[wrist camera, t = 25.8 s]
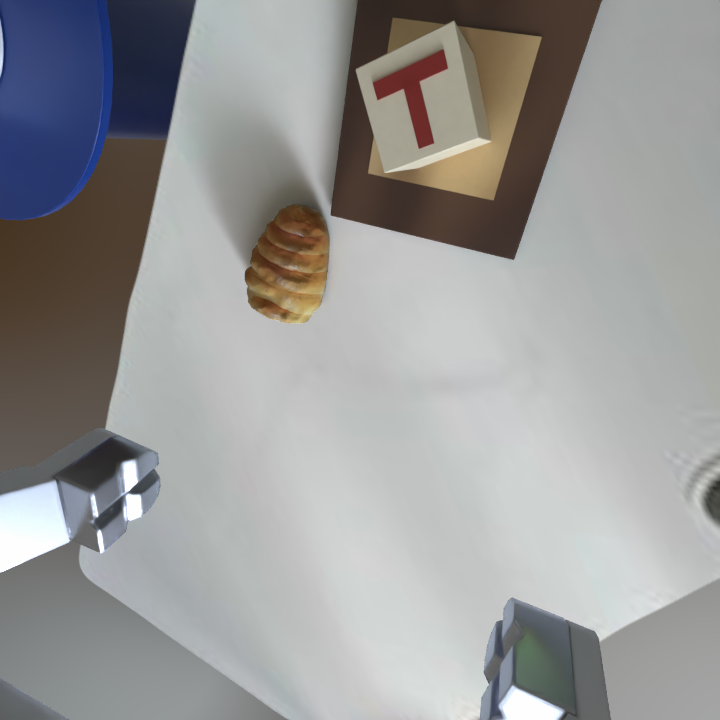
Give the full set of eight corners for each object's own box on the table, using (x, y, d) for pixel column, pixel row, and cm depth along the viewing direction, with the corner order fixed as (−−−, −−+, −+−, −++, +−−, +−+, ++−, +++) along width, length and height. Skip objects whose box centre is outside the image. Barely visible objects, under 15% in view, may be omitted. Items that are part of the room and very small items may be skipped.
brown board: (333, 214, 34) (329, 215, 33) (369, -55, 27) (364, -61, 26) (514, 257, 31) (513, 260, 30) (612, -33, 24) (615, -39, 23)
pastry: (276, 189, 35) (251, 193, 32) (351, 222, 34) (333, 230, 31) (252, 292, 40) (228, 305, 36) (318, 324, 39) (299, 340, 36)
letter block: (417, 168, 30) (383, 173, 23) (396, 89, 28) (354, 68, 22) (491, 141, 28) (478, 138, 21) (473, 54, 26) (454, 19, 19)
